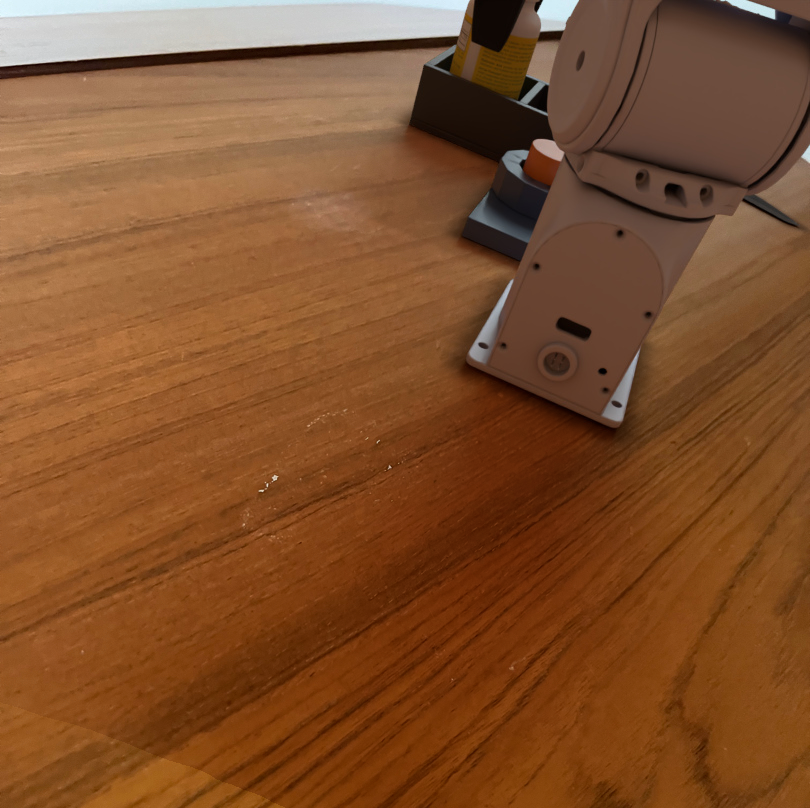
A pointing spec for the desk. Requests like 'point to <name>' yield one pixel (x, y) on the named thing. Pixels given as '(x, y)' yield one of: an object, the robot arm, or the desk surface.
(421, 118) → the rack
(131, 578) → the desk surface
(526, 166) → the button
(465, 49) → the supplement bottle
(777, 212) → the knife
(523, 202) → the block
